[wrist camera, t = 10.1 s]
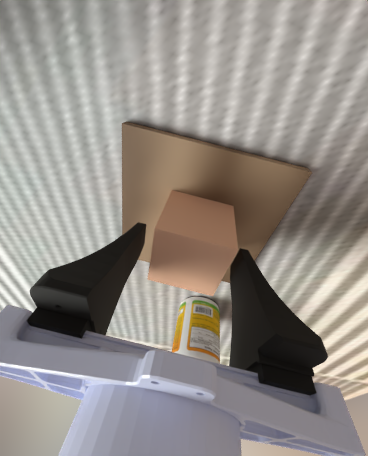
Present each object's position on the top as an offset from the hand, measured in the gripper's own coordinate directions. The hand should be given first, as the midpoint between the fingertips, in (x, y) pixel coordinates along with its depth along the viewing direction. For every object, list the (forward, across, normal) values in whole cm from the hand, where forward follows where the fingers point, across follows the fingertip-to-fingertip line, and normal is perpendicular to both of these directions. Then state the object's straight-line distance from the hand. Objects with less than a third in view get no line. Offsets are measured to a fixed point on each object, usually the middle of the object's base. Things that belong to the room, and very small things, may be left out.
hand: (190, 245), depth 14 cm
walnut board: (+4, 0, 0) cm, 4 cm away
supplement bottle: (+4, -4, +14) cm, 15 cm away
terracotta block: (+3, 0, 0) cm, 3 cm away
